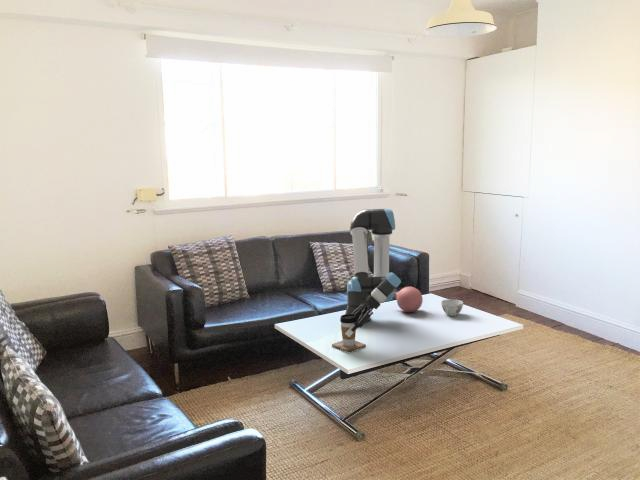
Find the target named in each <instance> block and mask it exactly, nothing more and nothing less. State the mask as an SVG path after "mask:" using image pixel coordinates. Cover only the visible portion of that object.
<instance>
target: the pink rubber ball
mask: <svg viewBox="0 0 640 480" xmlns="http://www.w3.org/2000/svg"><path fill="white" fill-rule="evenodd" d="M393 298H395V299H396V303H397V304H396V305H397V306H398V308H400V310H402V311H403V312H406V313H415V312H416V311H418V310H419V309H420V308H421V306H422V304H423V301H424V300H423V295H422V293H421V291H420V290H419V289H418V288H416V287H415V286H414V287H413V286H405V287H402V288H401V289H400V290H399V291H397V292H396V291H394V294H393Z"/></svg>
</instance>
